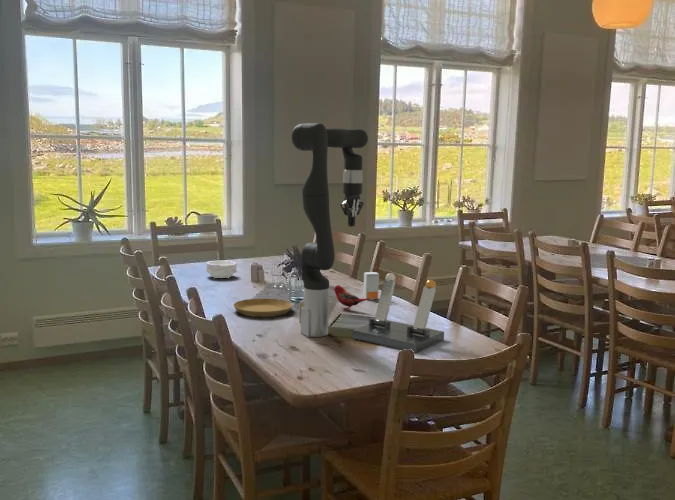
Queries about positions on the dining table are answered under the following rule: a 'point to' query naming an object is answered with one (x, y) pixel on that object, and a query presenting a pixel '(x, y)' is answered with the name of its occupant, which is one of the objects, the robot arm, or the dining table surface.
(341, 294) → the decorative bird figurine
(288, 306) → the plant saucer
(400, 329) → the switch panel
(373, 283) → the skincare box
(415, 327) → the orange lever
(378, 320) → the white lever
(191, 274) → the dining table surface
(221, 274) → the white footed bowl
